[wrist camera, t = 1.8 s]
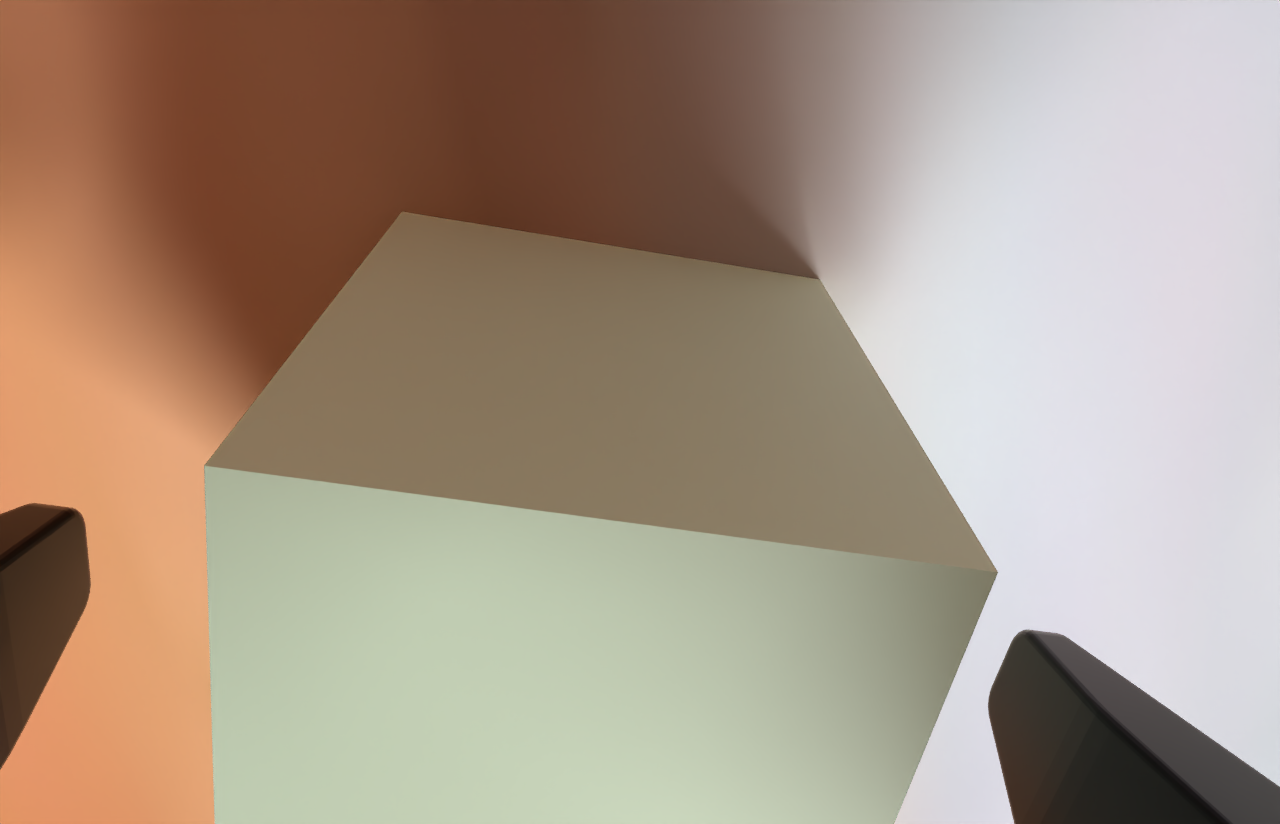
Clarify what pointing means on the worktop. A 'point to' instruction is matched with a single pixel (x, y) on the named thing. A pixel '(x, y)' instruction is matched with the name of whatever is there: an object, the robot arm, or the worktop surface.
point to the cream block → (577, 551)
